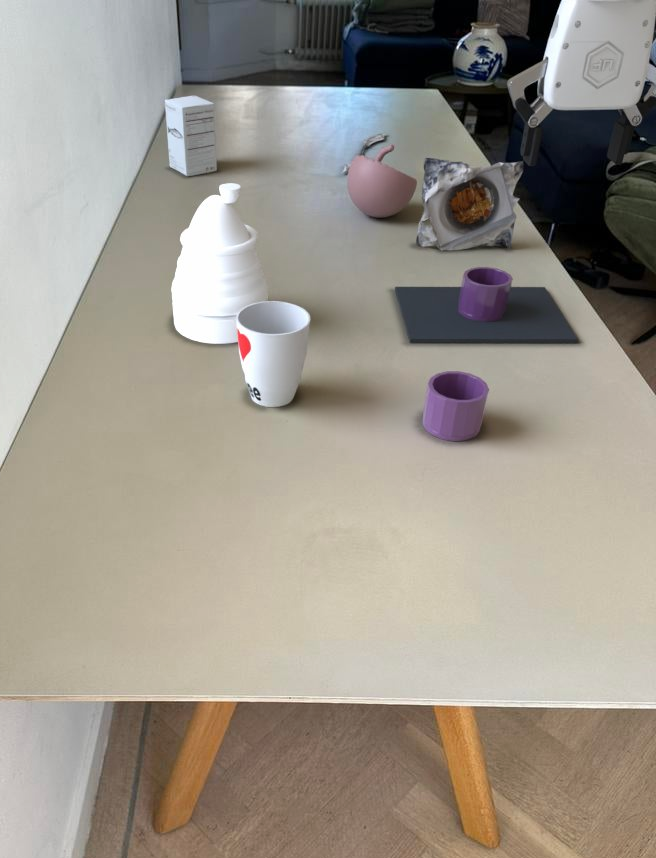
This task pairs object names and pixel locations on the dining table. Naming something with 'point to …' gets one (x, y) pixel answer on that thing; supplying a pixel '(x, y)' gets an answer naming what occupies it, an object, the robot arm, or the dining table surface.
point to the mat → (442, 323)
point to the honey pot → (216, 271)
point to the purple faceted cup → (454, 405)
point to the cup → (272, 350)
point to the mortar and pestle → (379, 185)
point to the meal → (468, 204)
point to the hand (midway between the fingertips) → (571, 162)
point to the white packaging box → (191, 135)
